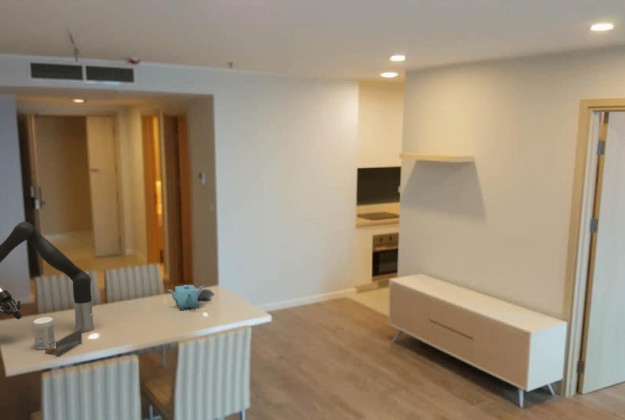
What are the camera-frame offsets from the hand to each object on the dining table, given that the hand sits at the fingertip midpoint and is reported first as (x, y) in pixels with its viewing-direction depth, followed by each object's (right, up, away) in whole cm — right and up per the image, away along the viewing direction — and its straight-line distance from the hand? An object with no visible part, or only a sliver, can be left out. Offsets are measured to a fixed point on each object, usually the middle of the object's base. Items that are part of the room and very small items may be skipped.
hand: (19, 318), depth 279 cm
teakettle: (+75, -6, +63) cm, 98 cm away
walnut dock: (+26, -15, -4) cm, 30 cm away
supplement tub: (+14, -15, -2) cm, 21 cm away
